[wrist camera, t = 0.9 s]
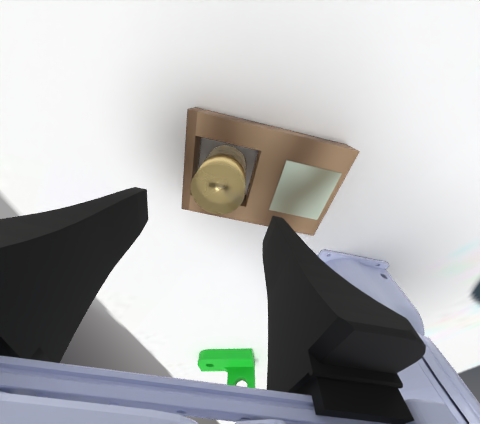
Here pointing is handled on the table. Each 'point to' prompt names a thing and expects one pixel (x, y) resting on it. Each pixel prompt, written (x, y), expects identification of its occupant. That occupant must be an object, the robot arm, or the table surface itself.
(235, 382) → the mechanical part
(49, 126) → the table surface
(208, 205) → the cylinder
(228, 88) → the table surface
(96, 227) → the robot arm
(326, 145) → the pocket board
